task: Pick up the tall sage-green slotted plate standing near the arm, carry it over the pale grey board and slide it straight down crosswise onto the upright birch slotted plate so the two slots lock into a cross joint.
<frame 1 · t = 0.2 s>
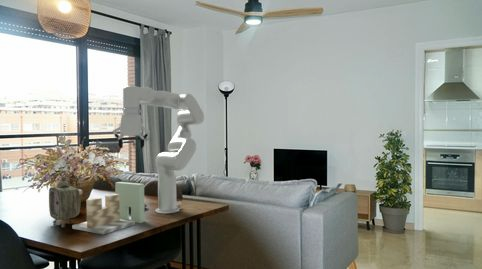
hand: (131, 148, 185), 35 cm above the table, tool pointing down, fingers open, 9 cm apart
disposable coffee cup: (73, 213, 204), on the table
sage slotted plate: (130, 220, 187), on the table
casserole: (123, 211, 209), on the table
birch slotted base: (103, 226, 176), on the table
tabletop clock: (65, 225, 180), on the table
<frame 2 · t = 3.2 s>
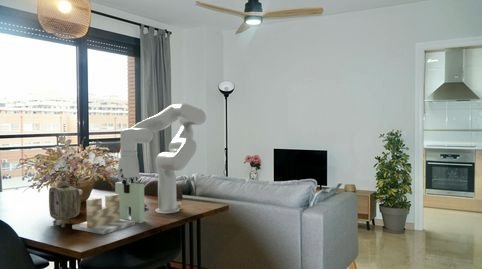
hand: (129, 192, 187), 14 cm above the table, tool pointing down, fingers closed on sage slotted plate, 3 cm apart
sage slotted plate: (130, 220, 187), on the table, touching gripper
everything else where it was.
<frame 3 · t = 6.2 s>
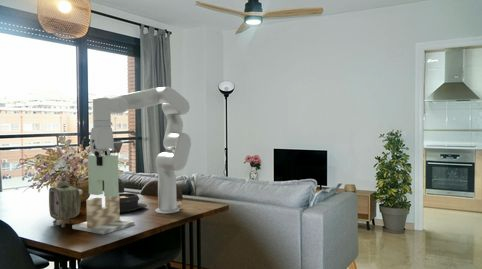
hand: (102, 164, 175), 28 cm above the table, tool pointing down, fingers closed on sage slotted plate, 3 cm apart
sage slotted plate: (103, 194, 176), point 14 cm above the table, touching gripper
everything else where it was.
when the fingers open (16 cm above the table, at t = 9.4 s): sage slotted plate stays where it is, resting on birch slotted base.
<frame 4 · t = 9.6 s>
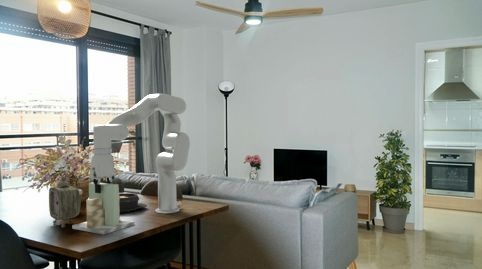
hand: (103, 191, 175), 16 cm above the table, tool pointing down, fingers open, 5 cm apart
sage slotted plate: (104, 223, 176), point 2 cm above the table, touching birch slotted base
everything else where it was.
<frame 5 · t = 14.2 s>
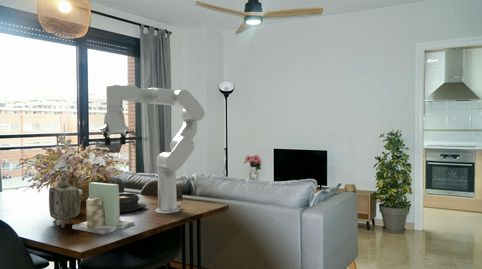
hand: (115, 145, 191), 36 cm above the table, tool pointing down, fingers open, 9 cm apart
nothing on the table moved.
at the end: sage slotted plate 0.1 cm off-centre on the birch slotted base, point 1.5 cm above the birch slotted base's base; sage slotted plate tilted 0°; the gripper is holding nothing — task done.
